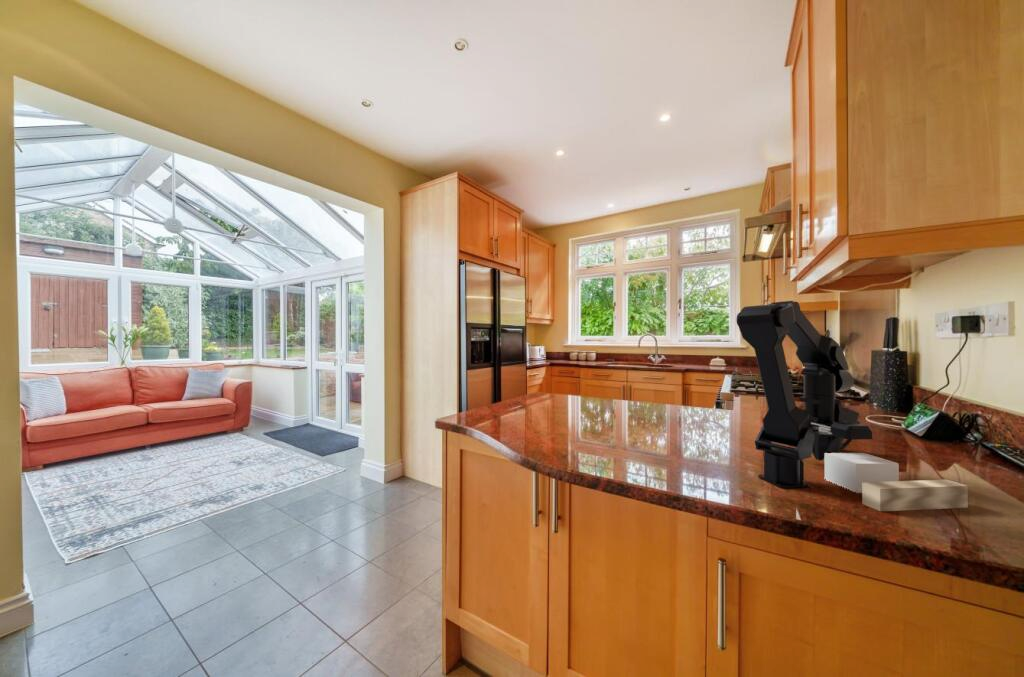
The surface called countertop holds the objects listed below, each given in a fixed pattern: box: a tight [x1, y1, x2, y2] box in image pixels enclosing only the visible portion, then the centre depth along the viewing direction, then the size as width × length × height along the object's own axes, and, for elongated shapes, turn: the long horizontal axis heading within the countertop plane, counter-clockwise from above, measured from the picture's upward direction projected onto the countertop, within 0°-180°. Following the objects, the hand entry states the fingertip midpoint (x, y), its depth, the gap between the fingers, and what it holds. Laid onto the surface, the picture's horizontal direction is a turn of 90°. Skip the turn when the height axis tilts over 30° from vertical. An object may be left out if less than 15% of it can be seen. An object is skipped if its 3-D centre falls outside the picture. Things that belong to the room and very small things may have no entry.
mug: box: [815, 420, 861, 453], centre depth 101 cm, size 8×12×10 cm
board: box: [861, 479, 969, 512], centre depth 67 cm, size 18×3×4 cm, turn 96°
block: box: [823, 452, 900, 494], centre depth 76 cm, size 9×7×6 cm
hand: (819, 459), depth 85 cm, fingers closed
